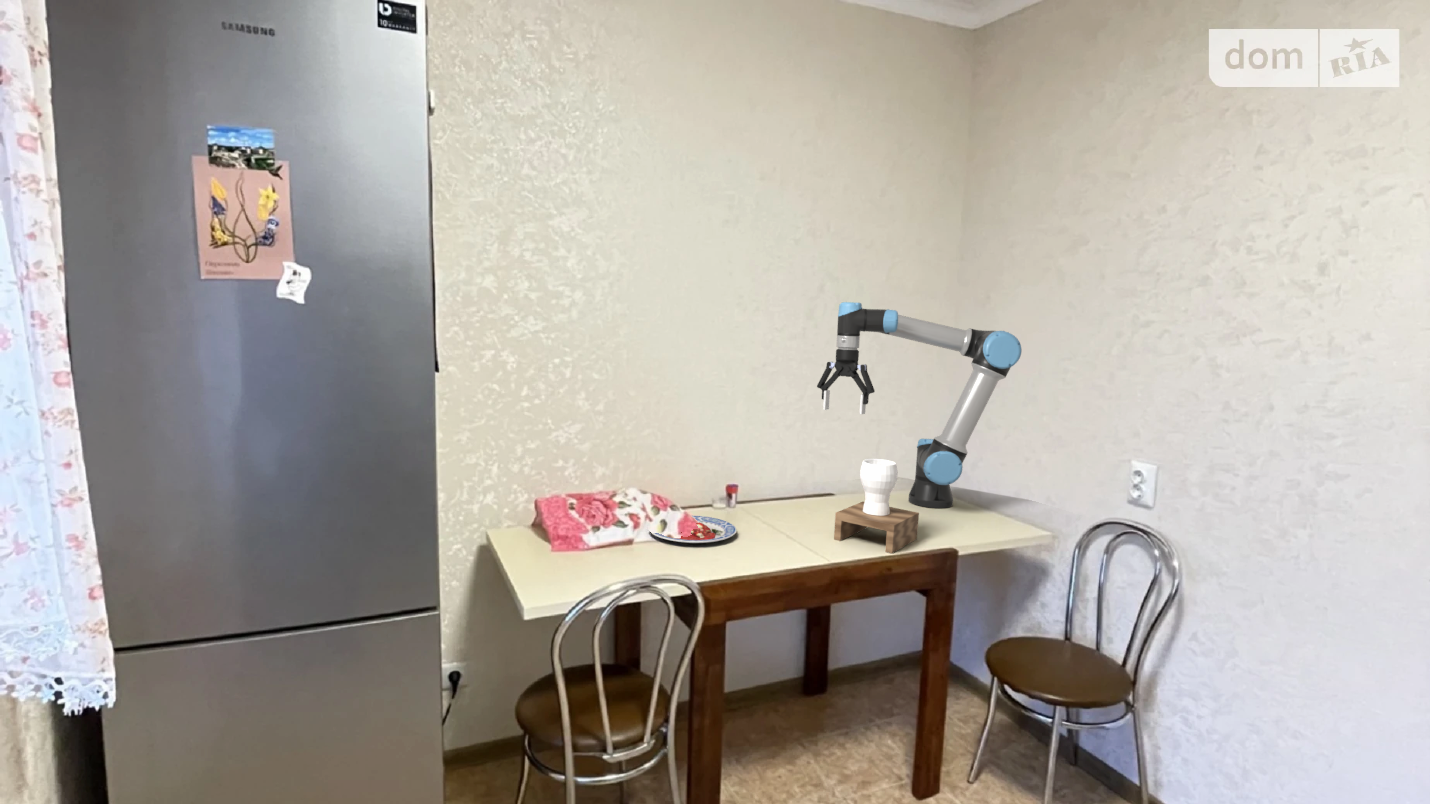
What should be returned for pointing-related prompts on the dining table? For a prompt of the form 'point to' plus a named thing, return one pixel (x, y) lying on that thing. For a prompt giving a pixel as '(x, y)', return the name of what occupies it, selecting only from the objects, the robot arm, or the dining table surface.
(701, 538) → the ceramic plate
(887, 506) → the cup
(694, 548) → the dining table surface
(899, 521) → the walnut shelf
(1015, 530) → the dining table surface
